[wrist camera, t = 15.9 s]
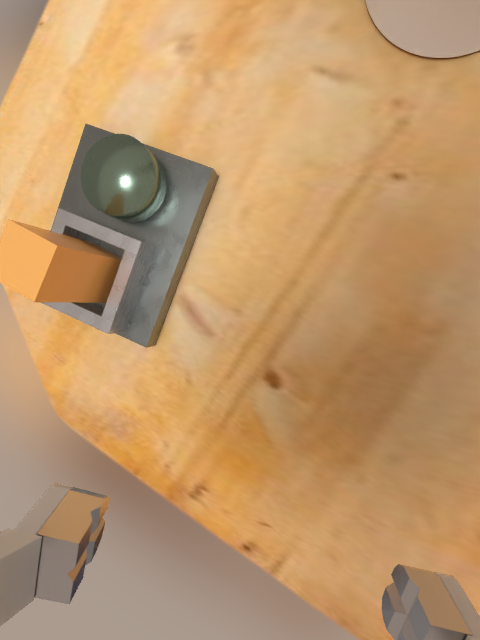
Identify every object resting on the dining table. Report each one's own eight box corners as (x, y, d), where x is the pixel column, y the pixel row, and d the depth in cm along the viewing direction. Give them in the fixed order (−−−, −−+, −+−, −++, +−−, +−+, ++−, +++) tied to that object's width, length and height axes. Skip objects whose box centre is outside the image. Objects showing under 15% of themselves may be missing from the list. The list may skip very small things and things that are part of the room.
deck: (97, 133, 36) (64, 106, 31) (218, 176, 34) (203, 154, 29) (44, 294, 38) (5, 292, 34) (155, 345, 36) (130, 351, 31)
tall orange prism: (93, 243, 35) (8, 219, 25) (130, 262, 34) (57, 245, 24) (76, 282, 35) (-14, 275, 26) (111, 302, 35) (34, 302, 25)
